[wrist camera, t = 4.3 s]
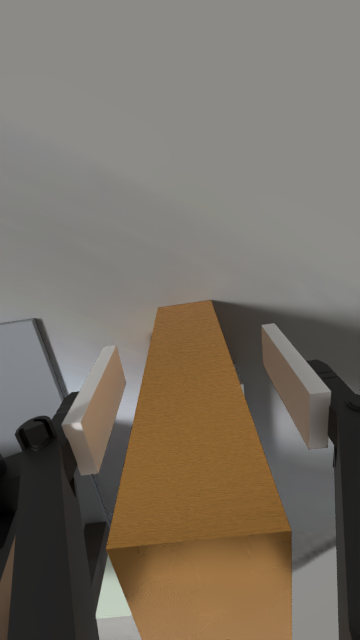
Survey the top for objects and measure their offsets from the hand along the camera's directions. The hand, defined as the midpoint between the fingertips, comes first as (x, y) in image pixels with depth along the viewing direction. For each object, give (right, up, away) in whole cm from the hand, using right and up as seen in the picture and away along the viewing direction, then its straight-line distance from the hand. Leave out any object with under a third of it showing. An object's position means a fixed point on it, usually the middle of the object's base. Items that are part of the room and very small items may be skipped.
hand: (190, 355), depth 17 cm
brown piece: (+2, -9, +6) cm, 11 cm away
